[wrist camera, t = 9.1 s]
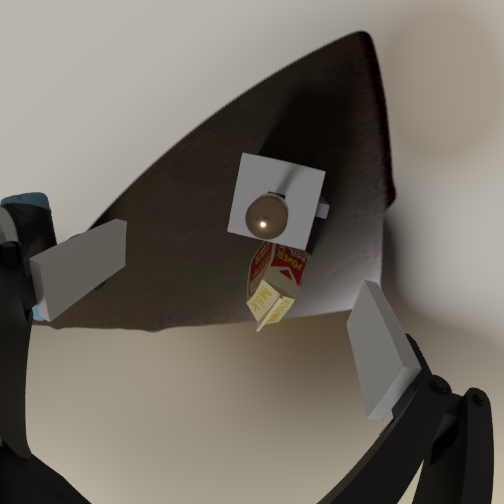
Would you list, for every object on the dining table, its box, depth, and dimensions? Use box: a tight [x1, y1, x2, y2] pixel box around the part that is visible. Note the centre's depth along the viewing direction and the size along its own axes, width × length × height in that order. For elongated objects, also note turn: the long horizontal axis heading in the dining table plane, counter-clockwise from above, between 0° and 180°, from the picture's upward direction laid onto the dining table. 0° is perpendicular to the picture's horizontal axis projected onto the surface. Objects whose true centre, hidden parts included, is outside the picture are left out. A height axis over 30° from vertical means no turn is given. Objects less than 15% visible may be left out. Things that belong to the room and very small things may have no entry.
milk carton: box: [247, 240, 311, 332], centre depth 45 cm, size 9×9×20 cm
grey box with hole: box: [228, 153, 330, 250], centre depth 43 cm, size 13×11×14 cm
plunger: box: [245, 191, 289, 240], centre depth 37 cm, size 8×8×24 cm
